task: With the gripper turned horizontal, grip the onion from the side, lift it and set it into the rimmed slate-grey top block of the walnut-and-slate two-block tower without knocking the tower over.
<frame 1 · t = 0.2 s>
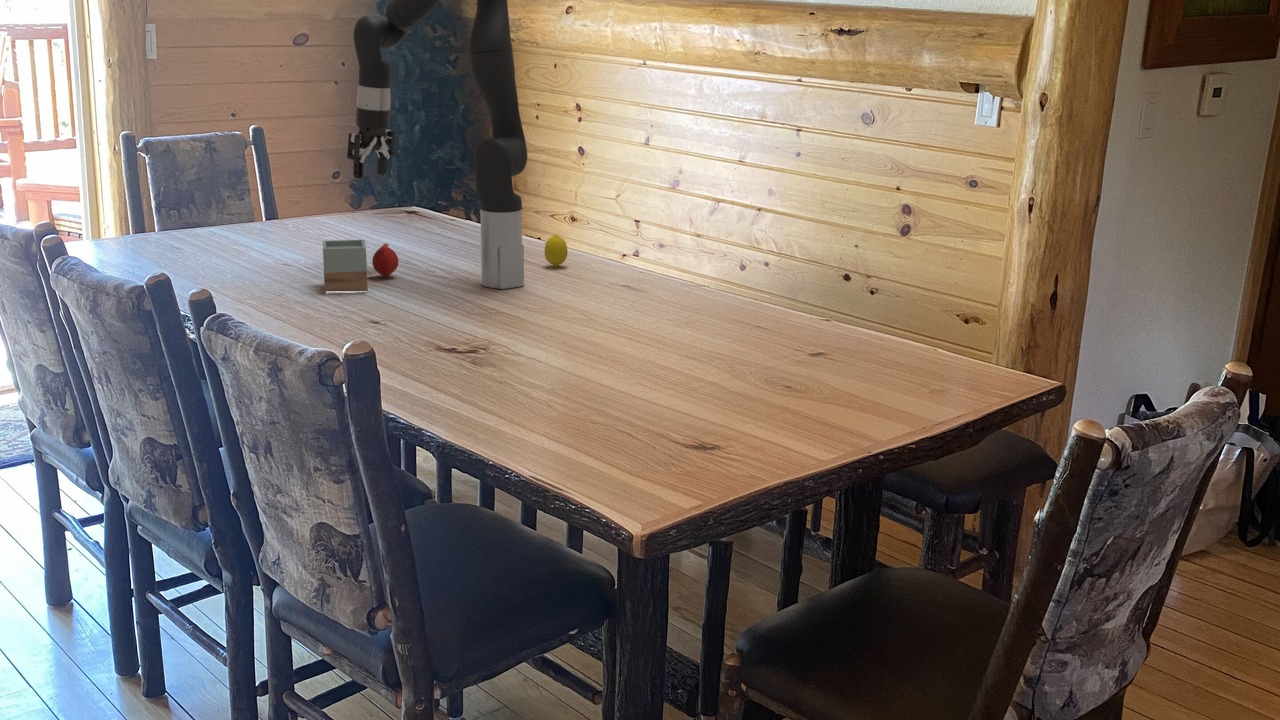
hand: (370, 176, 271), 22 cm above the table, tool pointing down, fingers open, 8 cm apart
tower base: (346, 289, 257), on the table
lemon: (555, 268, 282), on the table
tower top: (345, 267, 256), point 5 cm above the table
onion: (386, 278, 268), on the table
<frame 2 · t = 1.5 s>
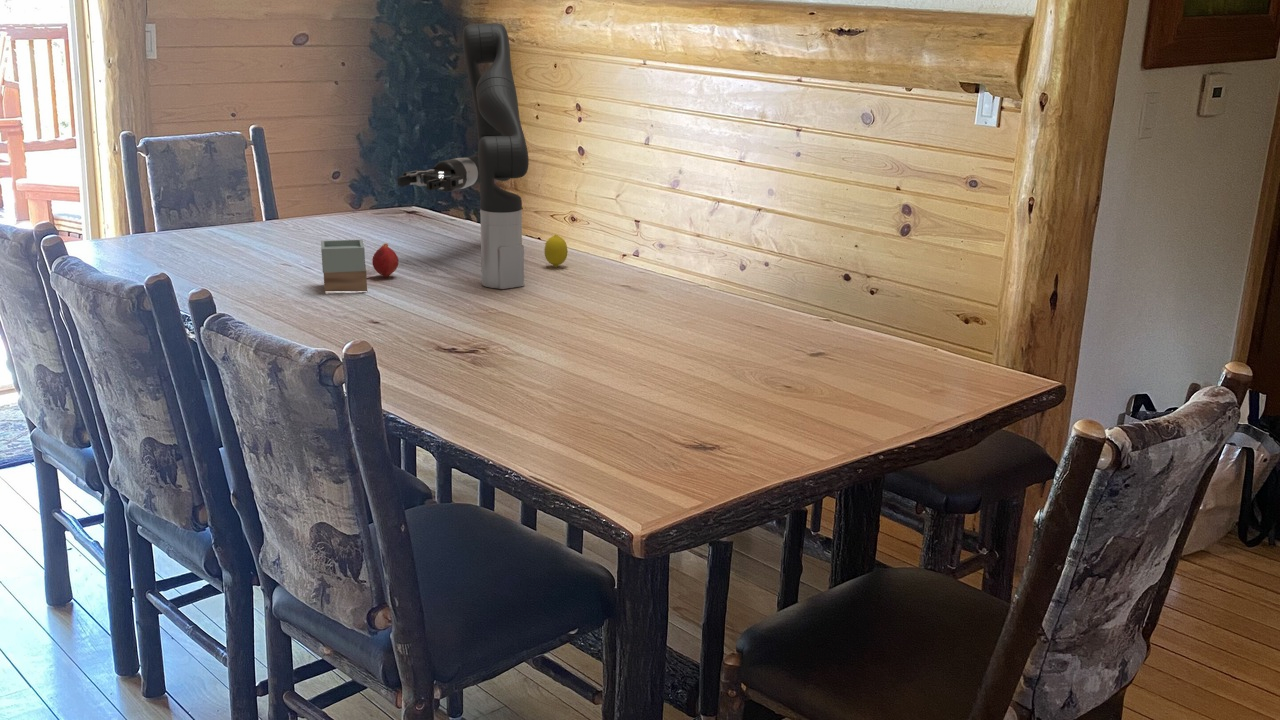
hand: (413, 184, 271), 20 cm above the table, tool horizontal, fingers open, 8 cm apart
tower base: (345, 289, 257), on the table, touching tower top
tower top: (343, 267, 256), point 5 cm above the table, touching tower base
everything else where it was.
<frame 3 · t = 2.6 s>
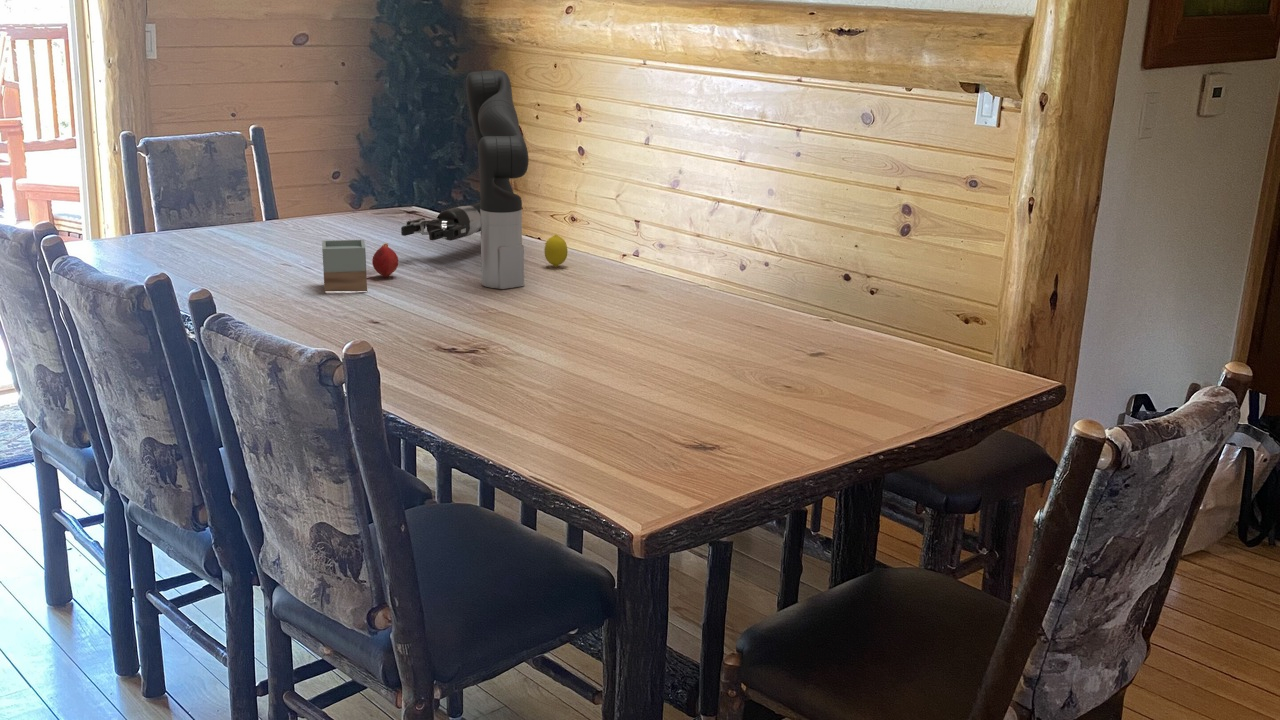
hand: (416, 233, 275), 8 cm above the table, tool horizontal, fingers open, 8 cm apart
nothing on the table moved.
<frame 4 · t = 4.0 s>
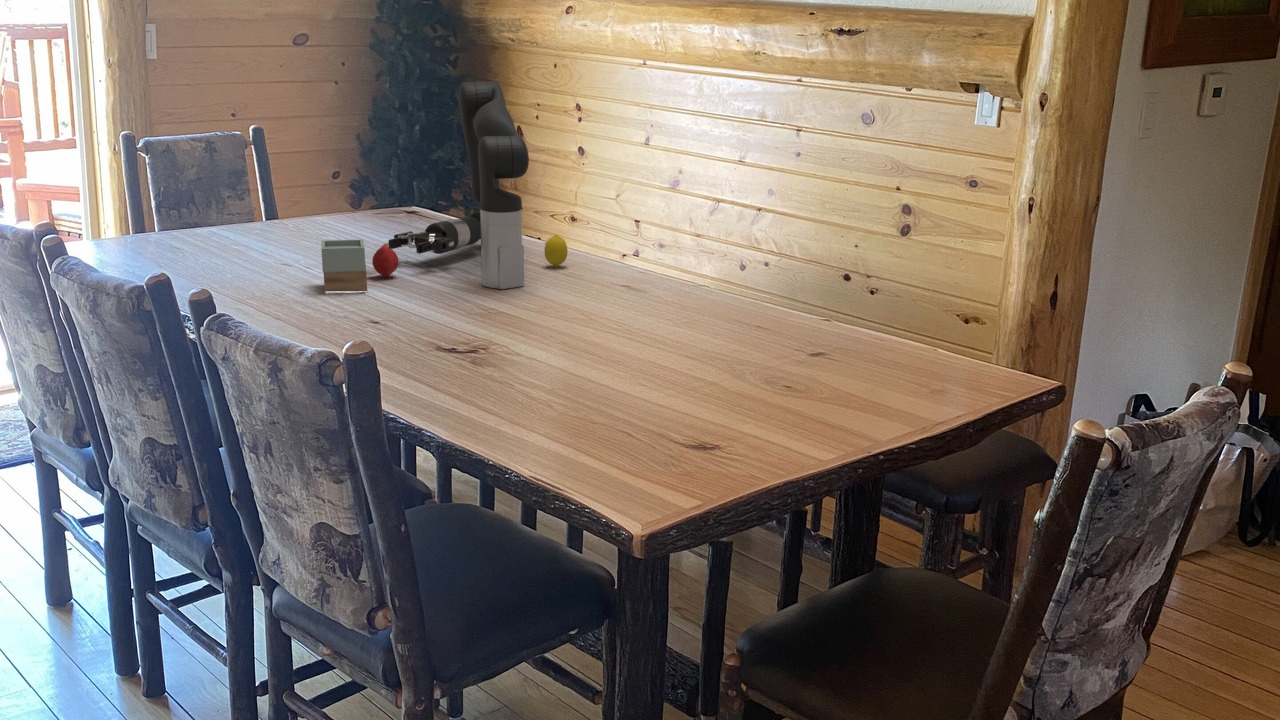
hand: (403, 246, 272), 6 cm above the table, tool horizontal, fingers open, 8 cm apart
tower base: (346, 289, 257), on the table
tower top: (343, 267, 256), point 5 cm above the table
everything else where it was.
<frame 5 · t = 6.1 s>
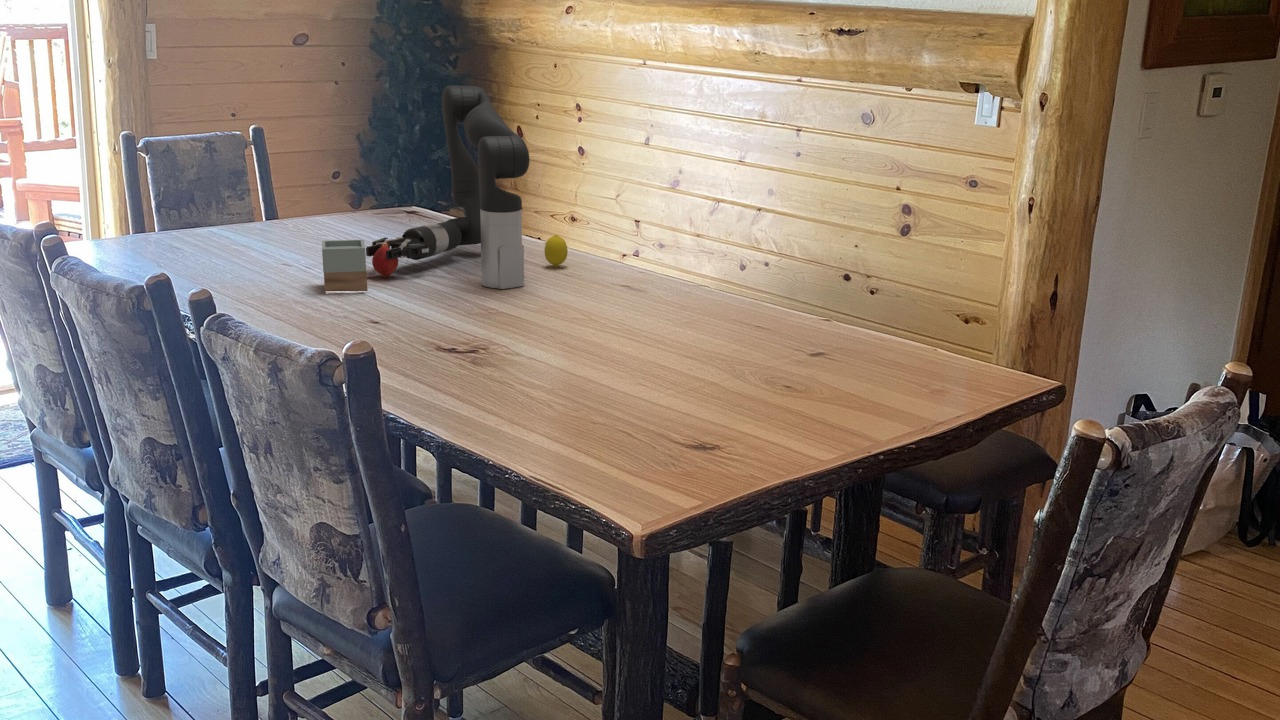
hand: (377, 253, 264), 6 cm above the table, tool horizontal, fingers closed on onion, 5 cm apart
tower base: (346, 289, 257), on the table, touching tower top
tower top: (344, 267, 256), point 5 cm above the table, touching tower base
onion: (386, 278, 268), on the table, touching gripper
everything else where it was.
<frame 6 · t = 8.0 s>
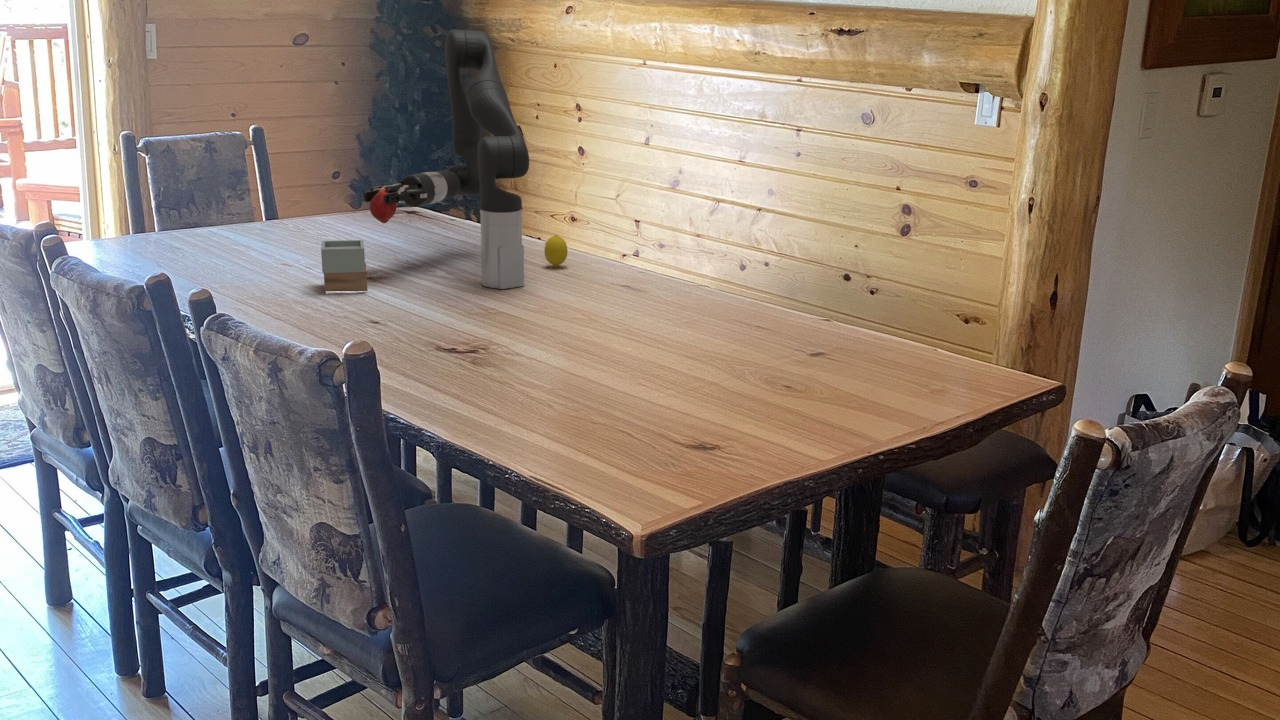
hand: (374, 198, 260), 19 cm above the table, tool horizontal, fingers closed on onion, 5 cm apart
onion: (384, 224, 264), point 12 cm above the table, touching gripper
everything else where it was.
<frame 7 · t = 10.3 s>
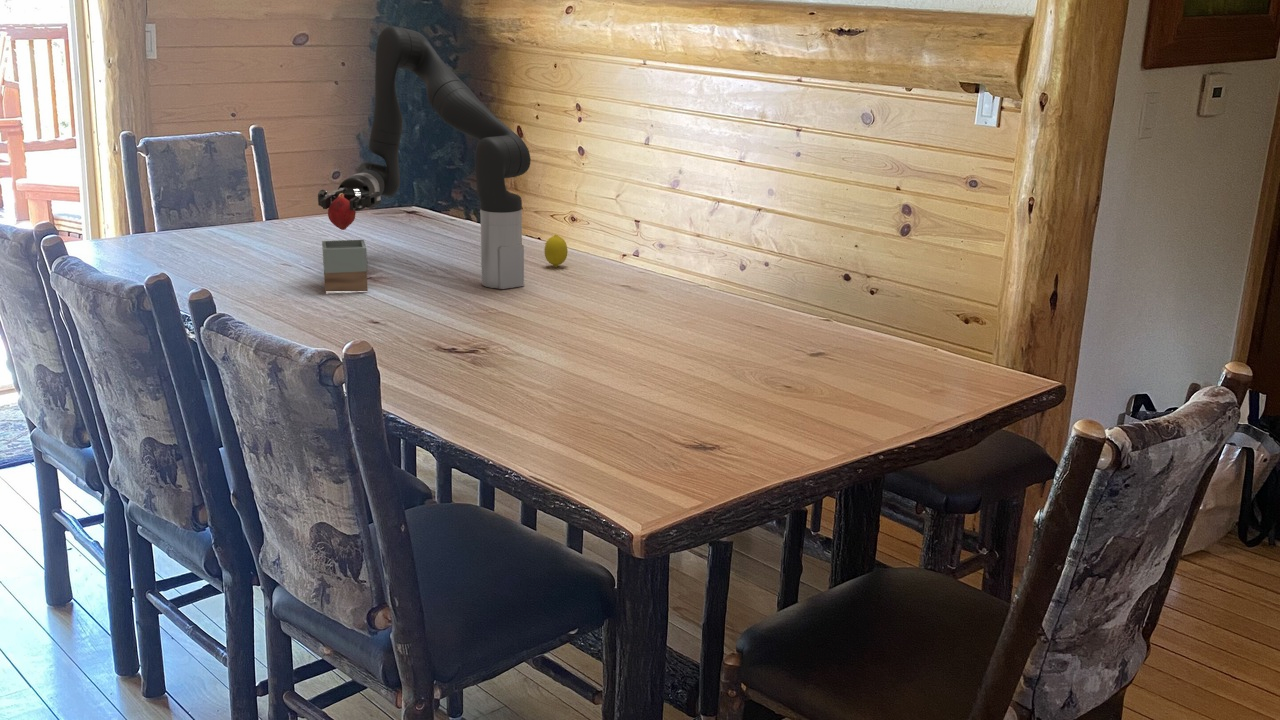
hand: (337, 204, 249), 19 cm above the table, tool horizontal, fingers closed on onion, 5 cm apart
onion: (342, 230, 254), point 13 cm above the table, touching gripper
everything else where it was.
when the fingers open (16 cm above the table, at t = 11.4 s): onion moves 2 cm, resting on tower top.
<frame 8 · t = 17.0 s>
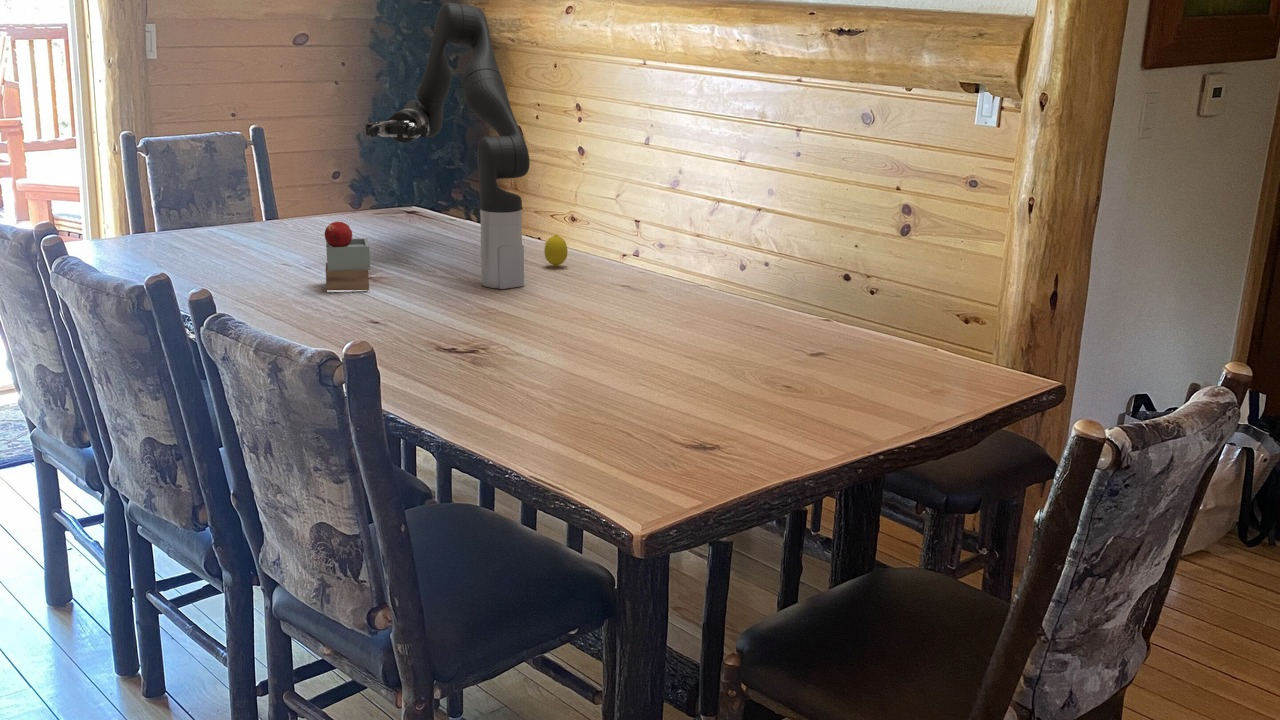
hand: (390, 132, 267), 32 cm above the table, tool horizontal, fingers open, 8 cm apart
tower top: (348, 265, 257), point 5 cm above the table, touching onion, tower base
onion: (346, 242, 257), point 10 cm above the table, touching tower top
at the end: onion 1.1 cm off-centre on the tower top, point 5.2 cm above the tower top's base; tower top 0.6 cm off-centre on the tower base, point 5.0 cm above the tower base's base; tower base moved 1.1 cm from its start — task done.
